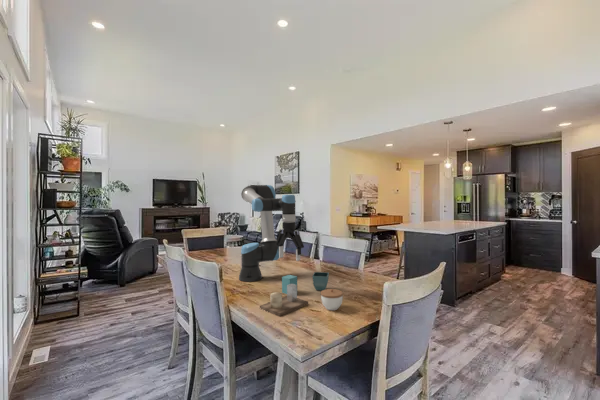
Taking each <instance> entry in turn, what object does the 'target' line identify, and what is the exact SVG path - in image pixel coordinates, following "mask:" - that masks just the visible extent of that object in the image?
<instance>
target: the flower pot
mask: <svg viewBox="0 0 600 400" xmlns="http://www.w3.org/2000/svg"><path fill="white" fill-rule="evenodd" d="M329 274H330V273H329V272H324V271H323V272H319V271H314V272H313V274H312V276H311V277H312V284H313V287H314V289H315V290H316V291H323V290H326V289H327V285H328V283H329V276H330V275H329Z"/></svg>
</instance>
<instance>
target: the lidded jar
mask: <svg viewBox="0 0 600 400" xmlns="http://www.w3.org/2000/svg"><path fill="white" fill-rule="evenodd" d="M320 296H321V297H320V298H321V299H320V300H321V303H322V305H323V307H325V310H328V311H336V310H339V308H340V307H341V306H342V303H343V298H344V293H343V291H342V290H339V289H338V288H337V289H335V288H326V289H325V290H320Z"/></svg>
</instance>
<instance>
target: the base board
mask: <svg viewBox="0 0 600 400" xmlns="http://www.w3.org/2000/svg"><path fill="white" fill-rule="evenodd" d="M307 305H309V301H308V300H305V299H301V298H299V297H297V301H294V302H290V301H287V295H286V296H282V307H281V308H279V309H273V308H271V304H270V301H269V302H267V303H263V304H262V305H259V309H260V308H261V309H260V310H262V309H263V310H262V311H264V310H265V311H264V312H267V311H268V312H267V313H269V312H270V314H271V315H274V314H275V316H277V317H282V316H284V315H286V314H288V313H291V312H294V311H296V310H298V309H300V308H302V307H306V306H307Z"/></svg>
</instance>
